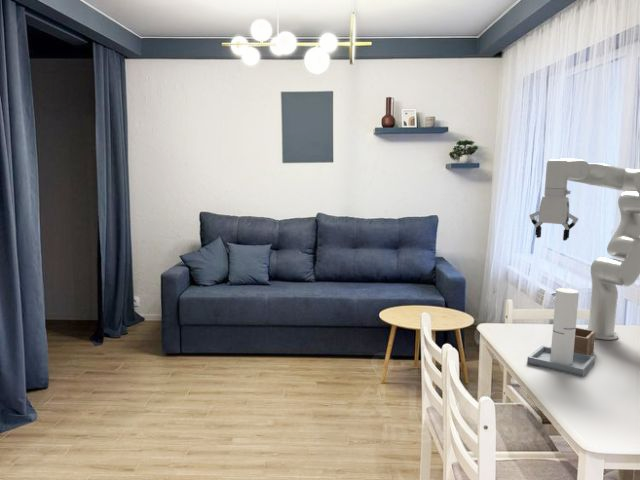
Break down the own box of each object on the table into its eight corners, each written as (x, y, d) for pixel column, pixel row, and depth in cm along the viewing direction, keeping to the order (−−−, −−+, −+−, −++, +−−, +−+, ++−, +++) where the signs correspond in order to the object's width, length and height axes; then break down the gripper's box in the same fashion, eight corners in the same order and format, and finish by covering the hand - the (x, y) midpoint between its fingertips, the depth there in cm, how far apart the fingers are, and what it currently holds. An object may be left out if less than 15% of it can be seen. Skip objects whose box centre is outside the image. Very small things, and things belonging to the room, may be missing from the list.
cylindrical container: (574, 365, 198) (581, 293, 194) (552, 363, 199) (558, 292, 196) (570, 358, 205) (576, 289, 201) (548, 357, 206) (554, 287, 202)
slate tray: (541, 352, 214) (542, 345, 213) (594, 363, 203) (595, 356, 202) (527, 363, 201) (527, 356, 201) (582, 376, 190) (583, 369, 190)
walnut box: (560, 345, 222) (562, 325, 221) (593, 352, 215) (595, 331, 214) (551, 353, 213) (553, 331, 211) (585, 360, 206) (587, 338, 204)
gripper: (582, 194, 214) (578, 240, 217) (534, 191, 225) (531, 235, 227) (577, 194, 208) (573, 242, 211) (528, 192, 219) (525, 237, 221)
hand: (551, 238), depth 219 cm, fingers open, 9 cm apart
